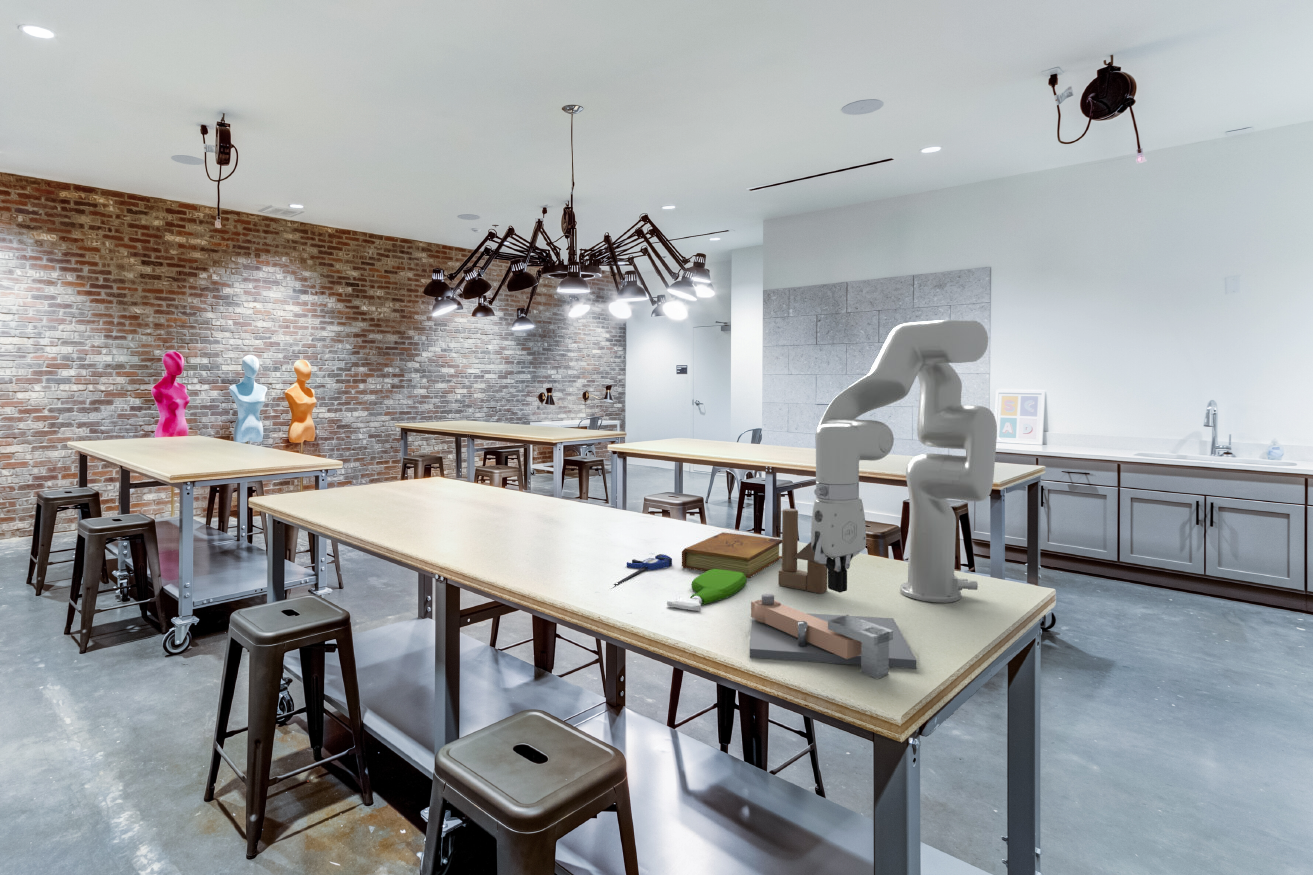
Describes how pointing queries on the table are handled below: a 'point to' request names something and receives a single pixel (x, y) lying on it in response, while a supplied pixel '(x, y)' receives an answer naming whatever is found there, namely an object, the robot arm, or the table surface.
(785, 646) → the base board
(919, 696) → the table surface
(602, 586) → the table surface
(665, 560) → the bar clamp
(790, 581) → the wooden block
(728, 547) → the diary
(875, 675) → the keeper
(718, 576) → the spray bottle
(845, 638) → the link
